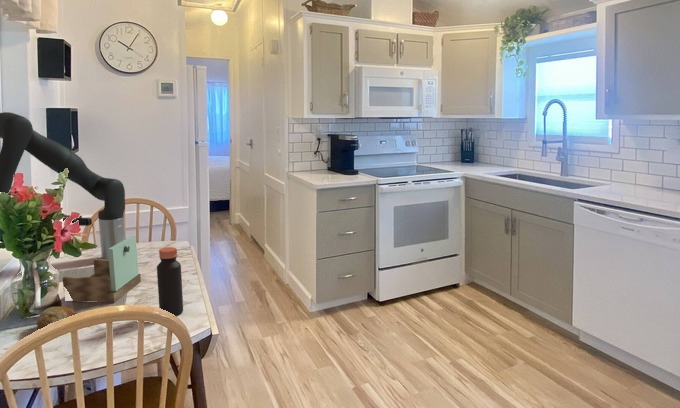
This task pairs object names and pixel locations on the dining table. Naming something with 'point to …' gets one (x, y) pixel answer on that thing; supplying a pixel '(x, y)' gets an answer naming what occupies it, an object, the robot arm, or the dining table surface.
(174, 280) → the bottle
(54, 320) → the bread roll
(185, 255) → the dining table surface
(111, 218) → the robot arm
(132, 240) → the green box lid
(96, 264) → the wood grain box
